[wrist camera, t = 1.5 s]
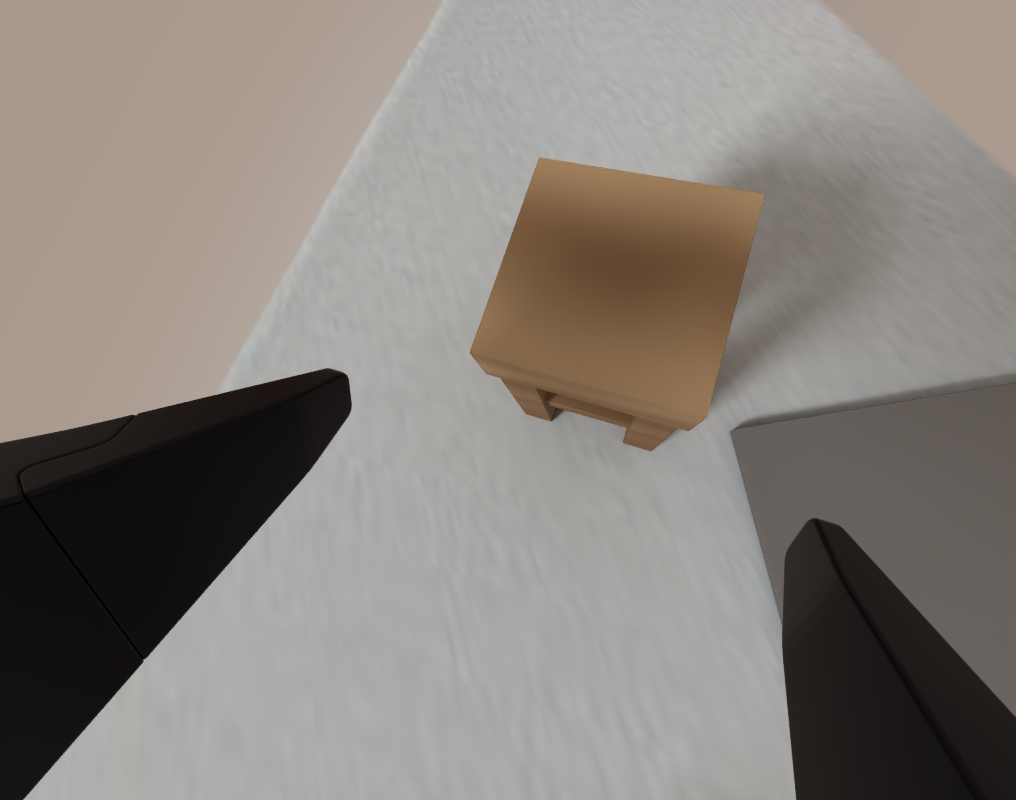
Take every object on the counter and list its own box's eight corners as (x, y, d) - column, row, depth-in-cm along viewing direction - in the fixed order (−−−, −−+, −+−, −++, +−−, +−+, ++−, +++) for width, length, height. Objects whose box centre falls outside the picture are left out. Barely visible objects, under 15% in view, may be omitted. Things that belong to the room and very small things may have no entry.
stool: (654, 456, 19) (706, 418, 11) (520, 416, 21) (469, 353, 12) (690, 326, 20) (764, 193, 12) (559, 296, 22) (539, 157, 13)
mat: (1174, 705, 15) (1197, 714, 14) (811, 734, 16) (819, 742, 16) (1029, 382, 18) (1044, 378, 17) (730, 431, 19) (734, 429, 18)
